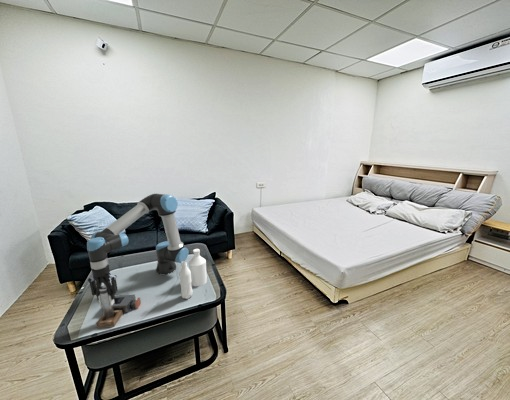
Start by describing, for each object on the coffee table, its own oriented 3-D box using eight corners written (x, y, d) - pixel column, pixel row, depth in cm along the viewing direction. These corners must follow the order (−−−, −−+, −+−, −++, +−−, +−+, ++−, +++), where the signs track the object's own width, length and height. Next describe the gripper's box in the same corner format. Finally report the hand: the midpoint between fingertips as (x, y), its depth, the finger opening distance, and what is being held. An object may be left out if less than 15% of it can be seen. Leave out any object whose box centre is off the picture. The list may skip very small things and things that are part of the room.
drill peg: (116, 312, 123) (111, 284, 119) (111, 318, 118) (106, 289, 115) (107, 313, 123) (102, 285, 119) (102, 319, 118) (96, 290, 114)
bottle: (199, 275, 165) (197, 245, 159) (210, 280, 158) (208, 249, 153) (187, 283, 155) (184, 251, 150) (198, 288, 149) (195, 255, 143)
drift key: (140, 303, 135) (140, 297, 134) (137, 308, 130) (136, 302, 129) (127, 304, 134) (126, 298, 133) (123, 309, 130) (122, 303, 129)
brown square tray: (122, 314, 126) (122, 309, 125) (114, 326, 117) (113, 321, 117) (106, 315, 125) (105, 311, 125) (97, 327, 117) (96, 323, 116)
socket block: (135, 301, 137) (134, 294, 136) (128, 312, 127) (126, 305, 126) (112, 302, 136) (111, 296, 135) (103, 314, 126) (101, 307, 125)
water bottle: (183, 293, 144) (179, 259, 138) (193, 292, 145) (190, 258, 139) (180, 300, 137) (176, 265, 132) (191, 299, 138) (188, 264, 132)
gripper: (121, 261, 118) (127, 298, 123) (87, 263, 117) (94, 301, 122) (113, 269, 111) (120, 308, 116) (77, 271, 110) (85, 310, 115)
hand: (107, 304), depth 119 cm, fingers closed on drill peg, 5 cm apart
